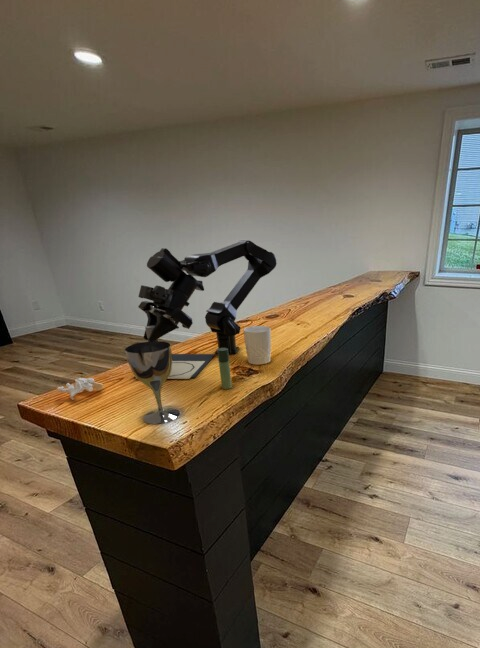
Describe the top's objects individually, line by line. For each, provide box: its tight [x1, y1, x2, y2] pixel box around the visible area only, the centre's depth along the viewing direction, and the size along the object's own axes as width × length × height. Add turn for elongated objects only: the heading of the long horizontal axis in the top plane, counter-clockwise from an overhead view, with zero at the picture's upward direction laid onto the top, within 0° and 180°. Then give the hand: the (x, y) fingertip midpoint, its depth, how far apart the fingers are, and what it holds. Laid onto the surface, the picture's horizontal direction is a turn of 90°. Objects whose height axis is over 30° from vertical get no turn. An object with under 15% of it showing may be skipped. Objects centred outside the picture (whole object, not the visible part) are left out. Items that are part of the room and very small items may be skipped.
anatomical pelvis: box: [56, 377, 104, 401], centre depth 82 cm, size 8×4×7 cm
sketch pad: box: [133, 353, 216, 380], centre depth 101 cm, size 21×16×1 cm
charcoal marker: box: [144, 325, 159, 342], centre depth 94 cm, size 2×2×10 cm
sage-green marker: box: [216, 348, 233, 390], centre depth 85 cm, size 2×2×10 cm
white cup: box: [243, 325, 272, 366], centre depth 103 cm, size 8×8×10 cm
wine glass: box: [124, 340, 181, 425], centre depth 70 cm, size 8×8×15 cm
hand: (147, 340), depth 93 cm, fingers closed on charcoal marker, 2 cm apart
